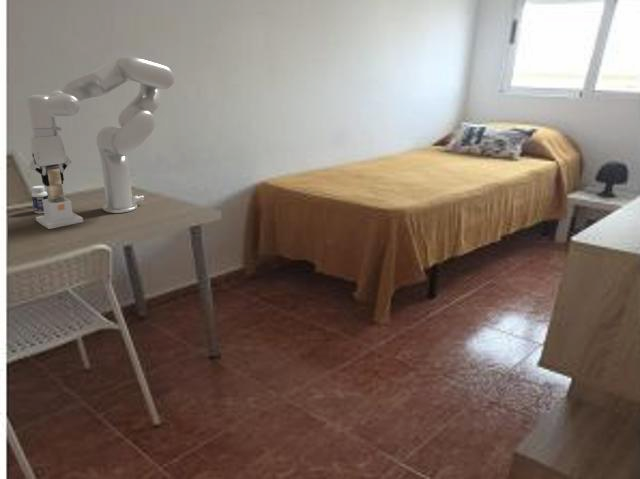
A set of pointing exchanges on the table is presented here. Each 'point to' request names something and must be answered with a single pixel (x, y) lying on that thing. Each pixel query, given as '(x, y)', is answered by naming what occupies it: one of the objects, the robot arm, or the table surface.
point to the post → (54, 183)
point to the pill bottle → (38, 198)
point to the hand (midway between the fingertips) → (53, 183)
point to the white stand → (58, 214)
